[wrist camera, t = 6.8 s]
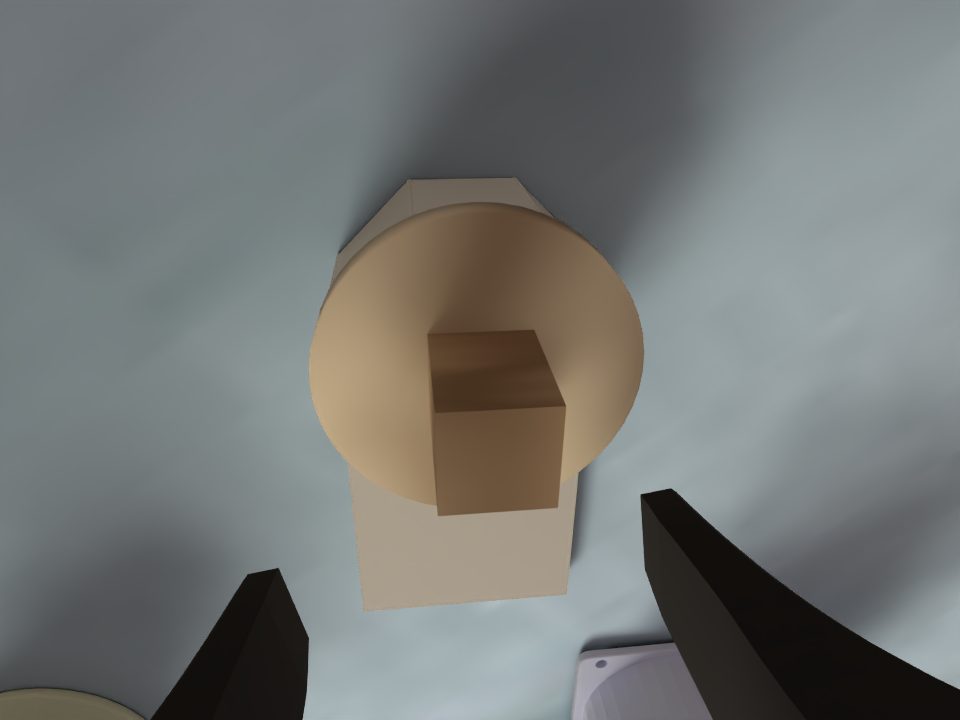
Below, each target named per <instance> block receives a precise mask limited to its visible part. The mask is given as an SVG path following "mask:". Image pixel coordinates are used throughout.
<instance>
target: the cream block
mask: <svg viewBox="0 0 960 720" xmlns="http://www.w3.org/2000/svg"><path fill="white" fill-rule="evenodd" d="M347 462H348V461H347ZM348 471H349V480H350V489H351V499H352V508H353V517H354V526H355V535H356V545H357V554H358V563H359V572H360V581H361V591H362V600H363V609H364V611H375V610H387V609H399V608H411V607H423V606H435V605H447V604H458V603H470V602H482V601H494V600H506V599H518V598H530V597H542V596H553V595H565V594H567V588H568V577H569V567H570V557H571V546H572V536H573V526H574V515H575V505H576V495H577V484H578V474H579V472H578V473H576V474H575V475H574V476H572V477H571V478H569V479H568V480H566V481H564V482H562V483H561V484H560V490H559V502H558V508H551V509H536V510H522V511H508V512H493V513H479V514H464V515H450V516H438V513H437V506H434V505H429V504H424V503H420V502H417V501H413V500H410V499H407V498H404V497H401V496H399V495H397V494H395V493H392V492H390V491H388V490H386V489H384V488H382V487H380V486H379V485H377V484H375V483H374V482H372V481H370V480H369V479H367V478H366V477H365V476H364V475H362V474H361V473H360V472H358V471H357V470H356V469H355V468H353V466H352V465H351V464H350V463H349V462H348Z"/></svg>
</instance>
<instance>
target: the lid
mask: <svg viewBox="0 0 960 720" xmlns="http://www.w3.org/2000/svg"><path fill="white" fill-rule="evenodd" d="M643 359H644V345H643V332H642V328H641V324H640V319H639V315H638V312H637V310H636V307H635V305H634V302H633V300H632V297H631V295H630V293H629V292H628V290H627V288H626V287H625V285H624V283H623V281H622V280H621V278H620V277H619V276H618V274H617V273H616V272H615V271H614V270H613V268H612V267H611V266H610V265H609V263H608V262H607V261H606V260H605V258H604V257H603V256H602V255H601V254H600V252H599V251H598V250H597V249H596V248H595V247H594V246H593V245H592V244H591V243H590V242H589V241H587V240H586V239H585V238H584V237H583V236H582V235H581V234H579V233H578V232H576V231H575V230H573V229H572V228H570V227H569V226H567V225H566V224H564V223H563V222H561V221H558V220H556V219H554V218H552V217H550V216H548V215H546V214H544V213H541V212H538V211H535V210H531V209H528V208H525V207H521V206H516V205H510V204H505V203H494V202H469V203H458V204H451V205H446V206H442V207H437V208H433V209H429V210H427V211H424V212H421V213H418V214H415V215H413V216H410V217H408V218H406V219H404V220H402V221H400V222H398V223H396V224H394V225H392V226H390V227H388V228H387V229H386V230H384V231H383V232H381V233H380V234H378V235H377V236H375V237H374V238H373V239H371V240H370V241H369V242H368V243H366V244H365V245H364V246H363V247H362V248H361V249H360V250H359V251H358V252H357V253H356V254H355V255H353V257H352V258H351V259H350V260H349V261H348V263H347V264H346V265H345V266H344V268H343V269H342V270H341V271H340V272H339V274H338V276H337V277H336V279H335V281H334V282H333V284H332V286H331V287H330V289H329V290H328V293H327V295H326V297H325V300H324V302H323V305H322V307H321V309H320V313H319V317H318V321H317V325H316V329H315V333H314V337H313V341H312V345H311V352H310V362H309V377H310V389H311V394H312V399H313V403H314V407H315V410H316V412H317V415H318V418H319V420H320V423H321V425H322V427H323V429H324V430H325V432H326V434H327V436H328V438H329V440H330V441H331V442H332V444H333V445H334V446H335V448H336V449H337V450H338V452H339V453H340V454H341V455H342V456H343V457H344V458H345V459H346V460H347V461H348V462H349V463H350V464H351V465H352V466H353V468H355V469H356V470H357V471H358V472H360V473H361V474H362V475H364V476H365V477H366V478H367V479H369V480H370V481H372V482H374V483H375V484H377V485H379V486H380V487H382V488H384V489H386V490H388V491H390V492H392V493H395V494H397V495H399V496H401V497H404V498H407V499H410V500H413V501H417V502H420V503H424V504H429V505H434V506H437V513H438V516H450V515H464V514H479V513H493V512H508V511H522V510H536V509H551V508H558V502H559V490H560V484H561V483H562V482H564V481H566V480H568V479H569V478H571V477H572V476H574V475H575V474H576V473H578V472H579V471H581V470H582V469H583V468H585V467H586V466H587V465H588V464H589V463H590V462H592V461H593V460H594V459H595V458H596V457H597V456H598V455H599V454H600V453H601V452H602V451H603V450H604V449H605V448H606V446H607V445H608V444H609V443H610V442H611V441H612V440H613V438H614V437H615V435H616V434H617V432H618V431H619V430H620V428H621V427H622V425H623V424H624V422H625V420H626V418H627V416H628V414H629V412H630V410H631V408H632V406H633V404H634V401H635V398H636V395H637V392H638V390H639V386H640V381H641V376H642V372H643Z"/></svg>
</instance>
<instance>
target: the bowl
mask: <svg viewBox="0 0 960 720" xmlns="http://www.w3.org/2000/svg"><path fill="white" fill-rule="evenodd" d="M469 202H494V203H505V204H510V205H516V206H521V207H525V208H528V209H531V210H535V211H538V212H541V213H544V214H546V215H548V216H550V217H552V218H554V217H553V216H552V215H551V214H550V213H549V212H548V211H547V210H546V209H545V208H544V207H543V206H542V205H541V204H540V203H539V202H538V201H537V200H536V199H535V198H534V197H533V196H532V195H531V194H530V192H529V191H528V190H527V189H526V188H525V187H524V186H523V185H522V184H521V183H520V182H519V180H518V179H517V178H515V177H513V178H475V179H423V180H410V179H409V180H407V182H406V183H405V184H404V185H403V186H402V187H401V188H400V189H399V190H398V191H397V192H396V193H395V195H394V196H393V197H392V198H391V199H390V200H389V201H388V202H387V203H386V204H385V205H384V206H383V207H382V208H381V210H380V211H379V212H378V213H377V214H376V215H375V216H374V217H373V218H372V219H371V220H370V221H369V222H368V223H367V225H366V226H365V227H364V228H363V229H362V230H361V231H360V232H359V233H358V234H357V235H356V236H355V237H354V238H353V240H352V241H351V242H350V243H349V244H348V245H347V246H346V247H345V248H344V249H343V250H342V251H341V252H340V253H339V254H338V255H337V258H336V262H335V267H334V271H333V275H332V280H331V284H330V287H331V286H332V284H333V282H334V281H335V279H336V277H337V276H338V274H339V272H340V271H341V270H342V269H343V268H344V266H345V265H346V264H347V263H348V261H349V260H350V259H351V258H352V257H353V255H355V254H356V253H357V252H358V251H359V250H360V249H361V248H362V247H363V246H364V245H365V244H366V243H368V242H369V241H370V240H371V239H373V238H374V237H375V236H377V235H378V234H380V233H381V232H383V231H384V230H386V229H387V228H388V227H390V226H392V225H394V224H396V223H398V222H400V221H402V220H404V219H406V218H408V217H410V216H413V215H415V214H418V213H421V212H424V211H427V210H429V209H433V208H437V207H442V206H446V205H451V204H458V203H469ZM554 219H555V218H554Z"/></svg>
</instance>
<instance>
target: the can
mask: <svg viewBox="0 0 960 720" xmlns="http://www.w3.org/2000/svg"><path fill="white" fill-rule="evenodd" d="M0 720H145V719H144V718H142V717H141V716H139V715H138V714H136V713H135V712H133V711H132V710H130V709H128V708H126V707H124V706H122V705H120V704H118V703H115V702H113V701H110V700H108V699H105V698H102V697H99V696H95V695H91V694H87V693H82V692H77V691H71V690H61V689H50V688H35V689H21V690H14V691H7V692H3V693H0Z"/></svg>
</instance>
